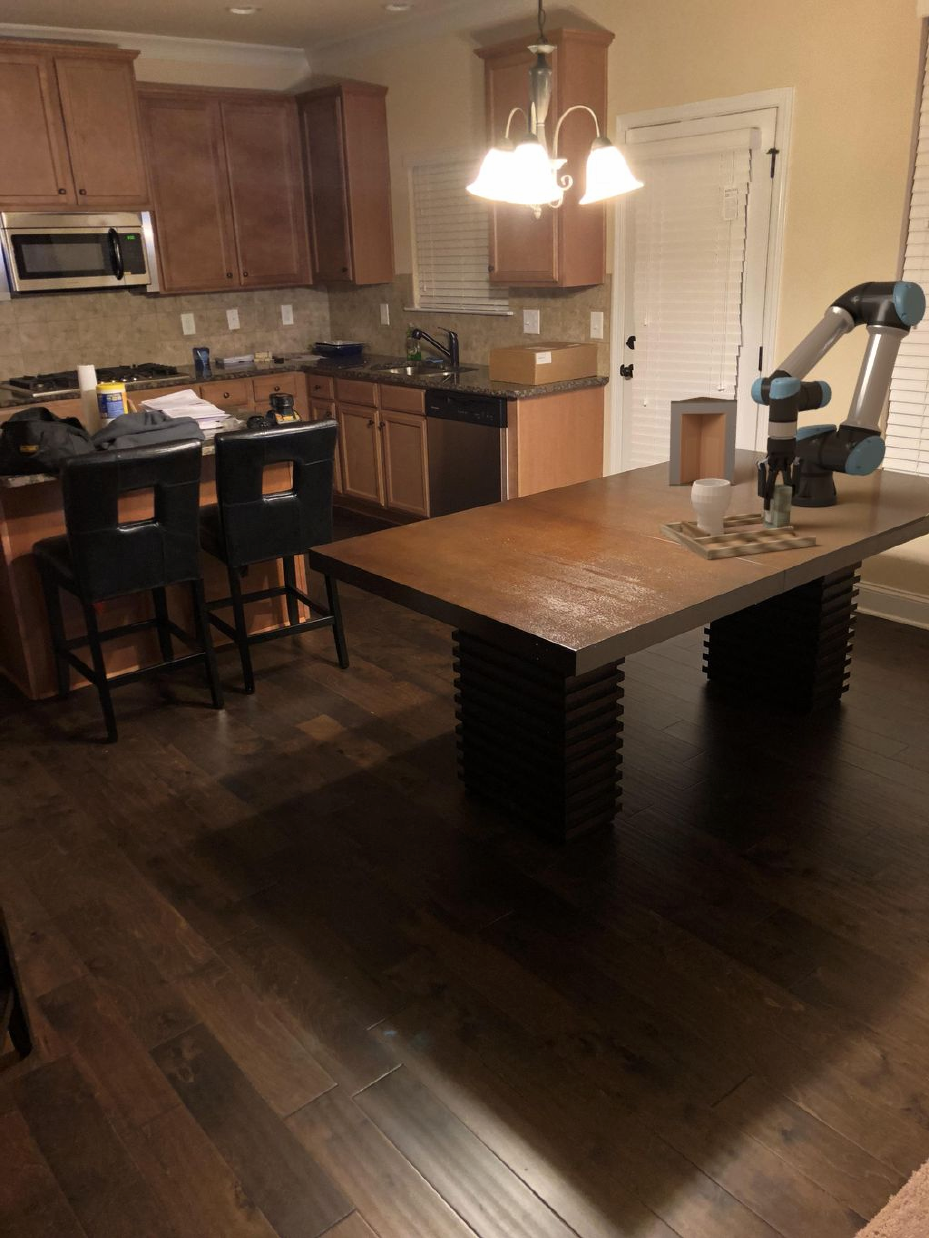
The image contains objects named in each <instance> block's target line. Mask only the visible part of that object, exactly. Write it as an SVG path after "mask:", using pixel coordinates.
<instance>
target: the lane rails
mask: <svg viewBox="0 0 929 1238" xmlns="http://www.w3.org/2000/svg"><path fill="white" fill-rule="evenodd" d="M757 517H762V512H752V513H751V512H750V513H743V514H736V515H727V516H724V520H723V522H724V521H732V520H741V519H749V518H757ZM685 521H686V520H685ZM686 522H688V523H690V524H692V525H697V524H698V521H697V519H695V520H687V521H686ZM794 528H795V527H794V526H793V525H790V526H788V527H780V528H772V529H770V528H767V529H766V528H765V529H758V530H750V531H743V532H734V533H727V534H725V533H724V535H717V536H709V537H701V538H690V537H689V536H687V535H685V534H684V533H683V534H682V532H681V521H677V522H671V523H670V522H669V523H661V524H660V525H659V533H660V534H662V535H663V536H665V537H667V538H668V539H670V540H671V541H674V542H676V543H677V544H678V545H681V546H682V547H684V548H686V549H688V550H690V551H691V552H693V553H695V554H697V555H698V556H700V557H701V558H704V559H706V560H708V561H709V560H716V559H722V558H730V557H738V556H739V557H740V556H744V555H745V556H746V555H752V554H762V553H768V552H775V551H783V550H791V549H797V548H798V549H799V548H807V547H814V546H816V543H817V536H816V535H809V536H803V537H802V536H799V537H798V536H795V535H794ZM753 541H755V543H750V542H753Z"/></svg>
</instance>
